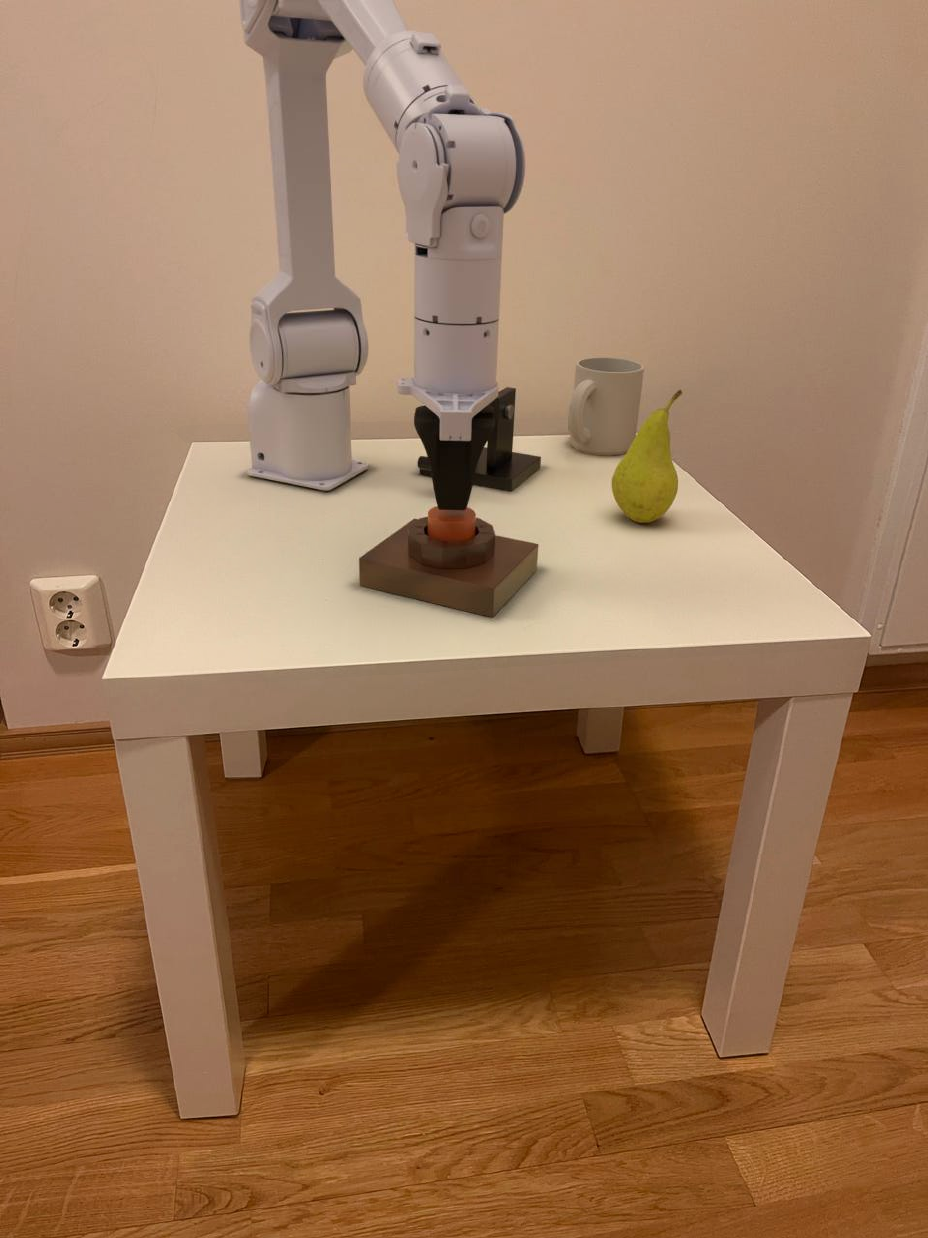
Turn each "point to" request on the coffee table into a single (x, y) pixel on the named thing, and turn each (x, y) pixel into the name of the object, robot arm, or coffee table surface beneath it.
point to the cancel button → (451, 524)
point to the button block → (450, 567)
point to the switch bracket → (502, 450)
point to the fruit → (647, 471)
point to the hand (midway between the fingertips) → (452, 506)
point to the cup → (605, 405)
